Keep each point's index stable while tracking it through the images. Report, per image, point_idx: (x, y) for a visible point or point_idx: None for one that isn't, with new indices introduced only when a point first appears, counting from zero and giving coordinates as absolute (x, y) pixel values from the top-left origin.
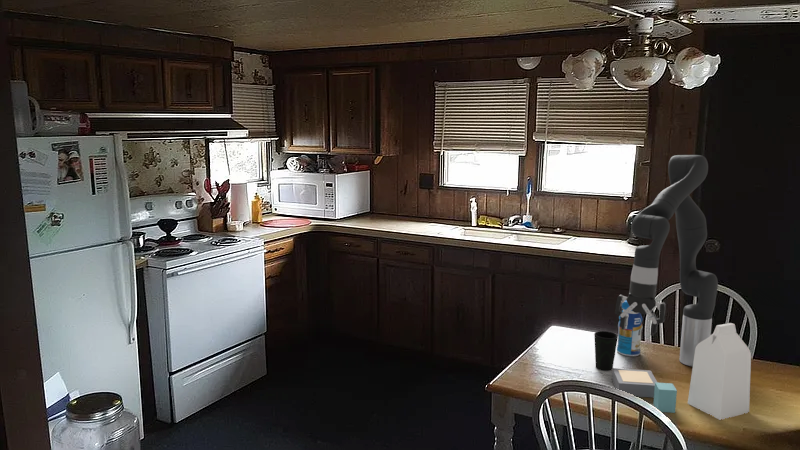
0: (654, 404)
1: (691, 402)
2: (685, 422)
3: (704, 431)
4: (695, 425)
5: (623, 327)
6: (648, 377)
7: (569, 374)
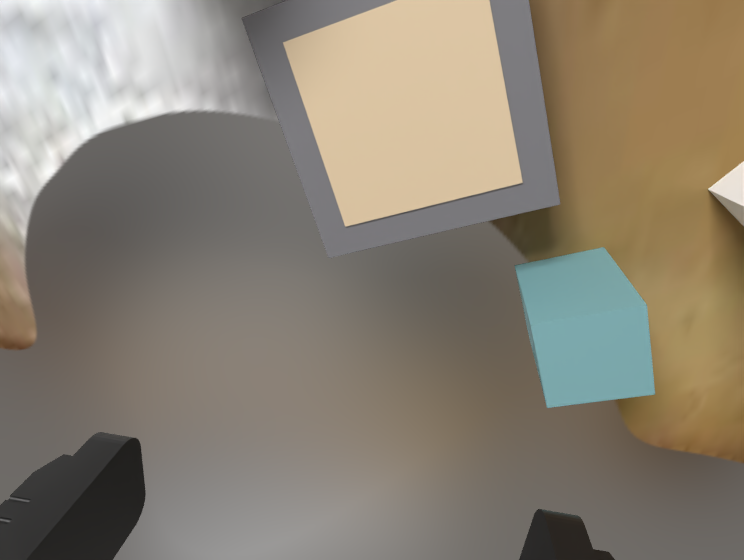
0: (519, 287)
1: (733, 211)
2: None
3: (712, 440)
4: (685, 405)
5: (119, 538)
6: (493, 90)
7: (53, 63)
